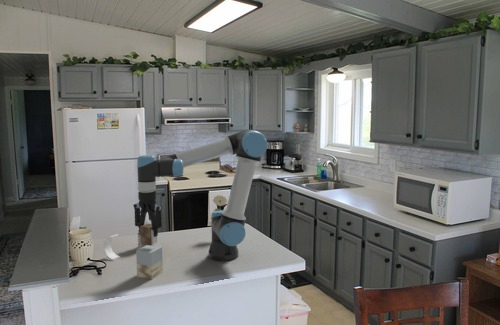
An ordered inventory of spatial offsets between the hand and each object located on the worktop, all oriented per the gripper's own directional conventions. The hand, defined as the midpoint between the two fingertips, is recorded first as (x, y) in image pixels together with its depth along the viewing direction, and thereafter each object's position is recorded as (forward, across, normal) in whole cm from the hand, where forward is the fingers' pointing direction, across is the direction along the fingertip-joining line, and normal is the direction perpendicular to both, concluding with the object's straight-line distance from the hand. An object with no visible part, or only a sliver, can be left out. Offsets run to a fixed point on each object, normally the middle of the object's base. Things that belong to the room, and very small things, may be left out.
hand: (148, 242), depth 180 cm
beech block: (+15, 0, 0) cm, 15 cm away
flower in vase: (+15, -7, -61) cm, 63 cm away
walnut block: (0, 0, 0) cm, 0 cm away
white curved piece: (+15, +30, -10) cm, 35 cm away
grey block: (+9, 0, 0) cm, 9 cm away
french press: (+15, +24, -29) cm, 40 cm away
